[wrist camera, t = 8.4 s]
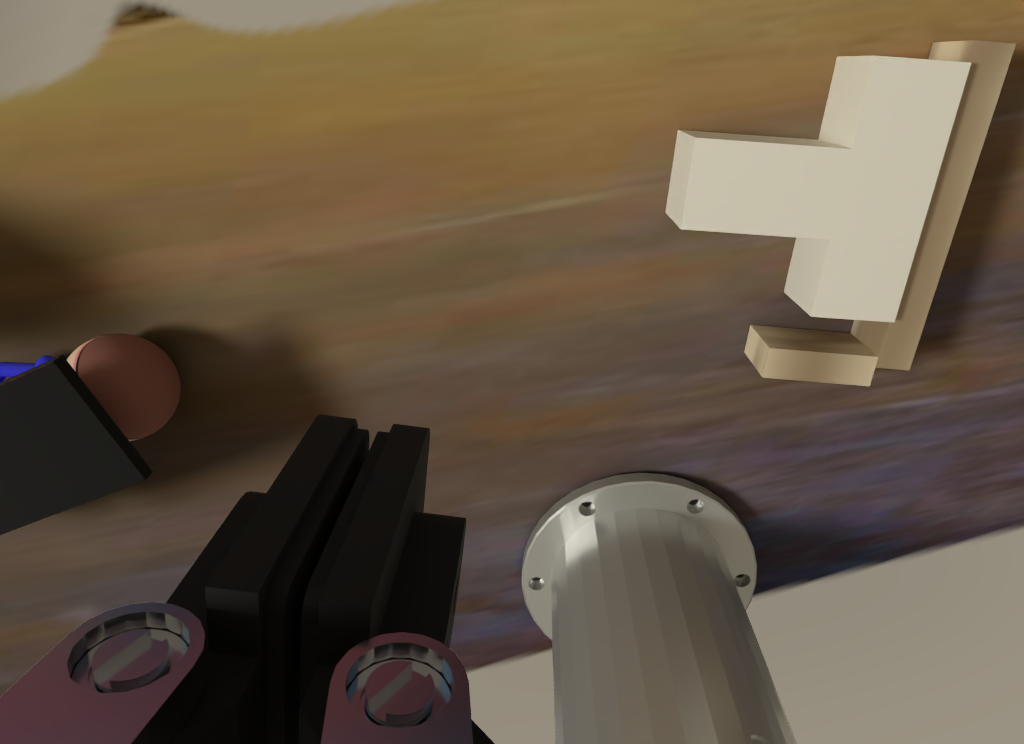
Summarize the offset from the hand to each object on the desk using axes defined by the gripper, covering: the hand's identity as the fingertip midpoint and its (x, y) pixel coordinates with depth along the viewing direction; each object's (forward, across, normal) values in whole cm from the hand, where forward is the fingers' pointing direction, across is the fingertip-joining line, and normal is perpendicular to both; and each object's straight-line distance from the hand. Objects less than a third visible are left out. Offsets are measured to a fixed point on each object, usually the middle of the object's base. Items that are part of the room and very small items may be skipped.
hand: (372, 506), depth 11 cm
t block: (+23, -13, -4) cm, 27 cm away
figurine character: (+23, +20, +12) cm, 33 cm away
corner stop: (+23, -16, -3) cm, 28 cm away
